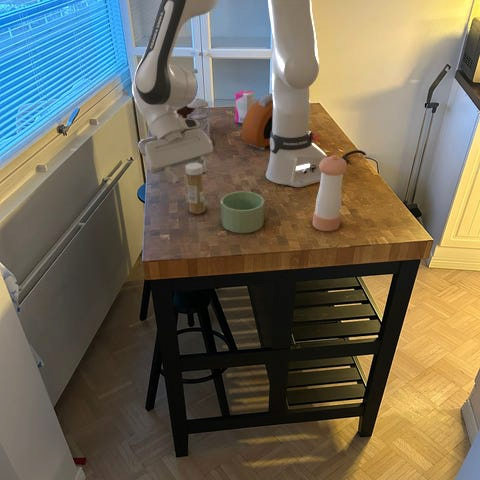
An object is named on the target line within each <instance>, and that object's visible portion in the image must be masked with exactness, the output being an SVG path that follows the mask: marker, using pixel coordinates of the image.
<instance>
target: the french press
mask: <svg viewBox="0 0 480 480" xmlns="http://www.w3.org/2000/svg"><path fill="white" fill-rule="evenodd" d="M191 71H192V72H193V73H194V75H195V77H196V78H197V76H196V74H198V73H199V71H198V69H197V68H193V69H192V70H191ZM187 107H189V108H195V109H196V111H197V112H192V113H191V114H188V115H187V118H188V119H196V120H197V121H198V122H199V124H200V126H199V128H200V129H202V130H203V131H204V132H205V133H206V135H207V137H208V138H209V140H210V142H211V144H212V145H213V140H212V139H211V137H210V122H211V119H212V111H211V108H210V106H209V102H208V100H205V99H202V98H198V93H197V94H196V96H195V99H194V100H193V101H192V102H191V103H190V104H188V105H187ZM207 108H208V109H207ZM199 109H202V110H206V113H205V112H199ZM208 110H209V114H208V113H207V112H208ZM208 115H209V118H208Z"/></svg>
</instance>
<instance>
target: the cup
mask: <svg viewBox="0 0 480 480" xmlns="http://www.w3.org/2000/svg"><path fill="white" fill-rule="evenodd" d="M220 214H221V215H220V217H221V218H220V219H221V225H222V227H223V228H224V229H225V230H227V231H229V232H232V233H237V234H247V233H253V232H256V231H259V230H260V229H262V227H263V226H264V222H265V198H264V197H263V196H262V195H261V194H259V193H257V192H253V191H246V190H239V191H233V192H230V193H227V194H225V195H223V196H222V197H221V199H220Z"/></svg>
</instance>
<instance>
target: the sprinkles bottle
mask: <svg viewBox="0 0 480 480" xmlns="http://www.w3.org/2000/svg"><path fill="white" fill-rule="evenodd" d="M202 172H203V168H202V165H201V163H199V162H190V163H187V164H185V173H186V180H187V183H186V185H187V195H188V202H189V203H188V204H189V212H190V213H191V214H195V215H198V214H203V213H204V212H205V211H206V207H205V194H204V193H205V192H204V183H203V181H204V180H203V175H202Z"/></svg>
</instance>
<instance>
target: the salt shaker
mask: <svg viewBox="0 0 480 480" xmlns="http://www.w3.org/2000/svg"><path fill="white" fill-rule="evenodd" d="M330 156H331V157H326V158H324V159H322V161H321V162H320V164H319V168H320V171H321V172H322V173H321V181H320V182H319V188H318V193H317V195H316V200H315V209H314V211H313V216H312V227H314V229H316V230H317V231H318V230H319V231H322V232H333V231H336V230H338V229H339V228H340V224H341V217H342V213H341V208H342V200H343V199H342V186H343V179H344V174H345V173H346V171H347V169H348V163H346V161H345V160H344V159H343V157H339V156H338V155H336V154H333V155H330Z"/></svg>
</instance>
